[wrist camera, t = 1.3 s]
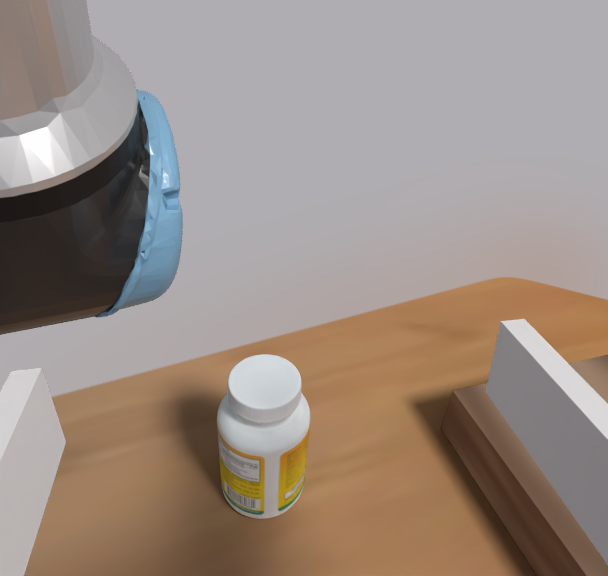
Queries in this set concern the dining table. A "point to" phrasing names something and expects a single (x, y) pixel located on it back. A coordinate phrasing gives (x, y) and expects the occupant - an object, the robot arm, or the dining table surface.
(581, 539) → the walnut riser
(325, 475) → the dining table surface
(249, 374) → the supplement bottle
